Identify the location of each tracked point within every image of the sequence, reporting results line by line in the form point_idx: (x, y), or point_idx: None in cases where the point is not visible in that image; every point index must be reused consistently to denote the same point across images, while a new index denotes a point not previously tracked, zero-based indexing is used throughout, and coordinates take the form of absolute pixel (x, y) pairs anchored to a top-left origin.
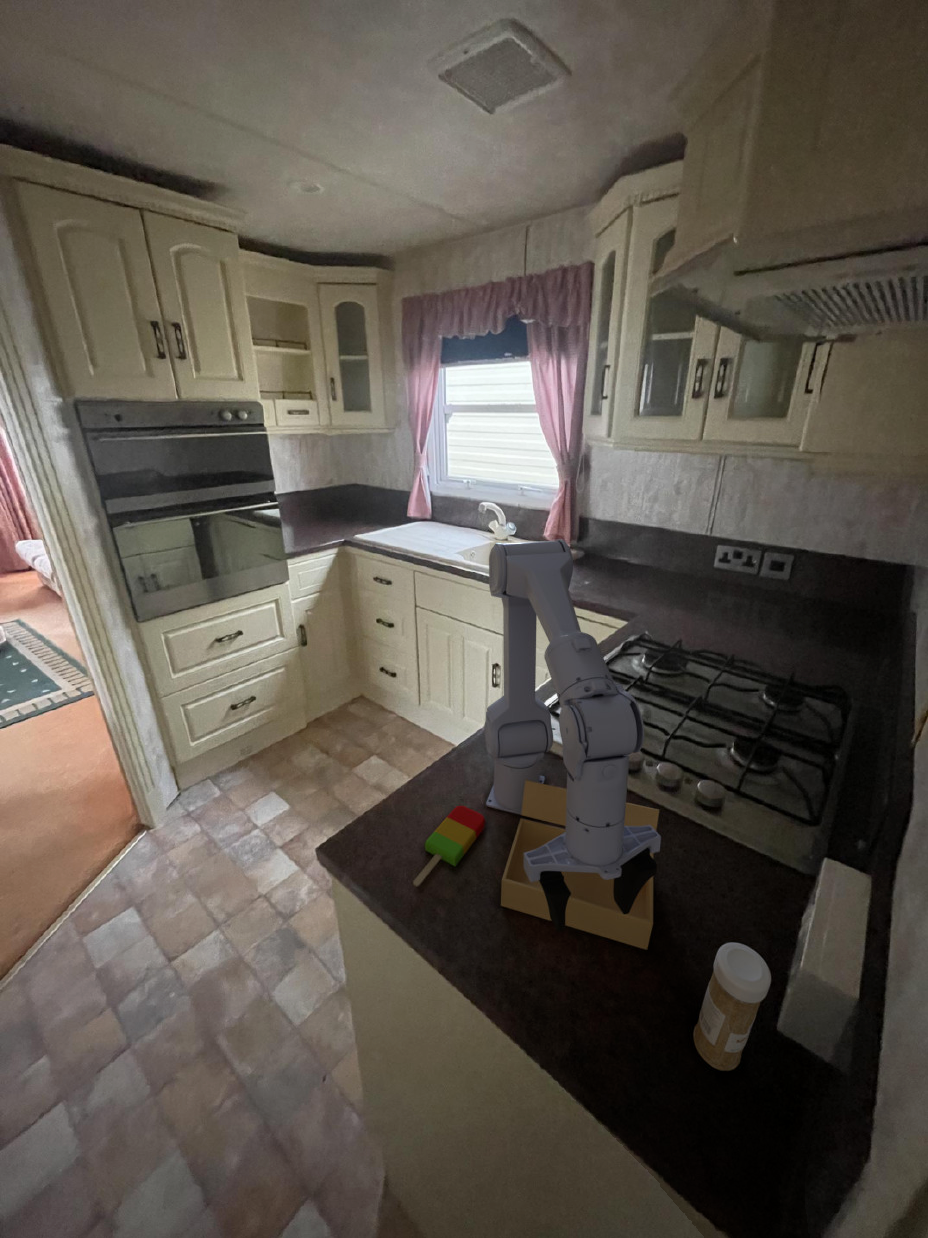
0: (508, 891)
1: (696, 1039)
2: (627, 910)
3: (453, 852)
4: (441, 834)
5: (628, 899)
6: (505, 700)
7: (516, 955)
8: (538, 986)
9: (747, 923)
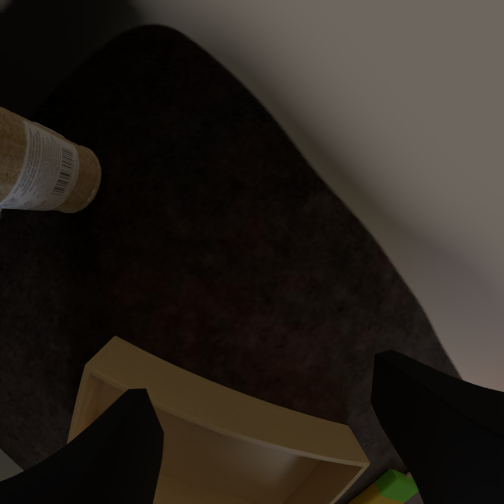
0: (351, 447)
1: (94, 182)
2: (130, 397)
3: (395, 485)
4: (398, 501)
5: (115, 432)
6: None
7: (350, 351)
8: (329, 300)
9: None
